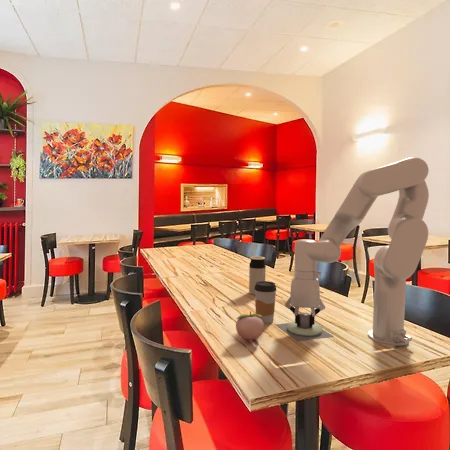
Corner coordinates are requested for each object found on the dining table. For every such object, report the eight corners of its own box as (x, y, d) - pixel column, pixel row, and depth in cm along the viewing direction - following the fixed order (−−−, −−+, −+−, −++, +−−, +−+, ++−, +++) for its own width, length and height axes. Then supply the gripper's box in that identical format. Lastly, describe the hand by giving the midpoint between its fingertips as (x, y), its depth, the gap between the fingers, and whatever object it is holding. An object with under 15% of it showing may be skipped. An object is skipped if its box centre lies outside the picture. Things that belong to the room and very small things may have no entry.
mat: (334, 338, 119) (334, 336, 119) (297, 343, 115) (297, 341, 115) (308, 322, 134) (308, 320, 134) (275, 326, 130) (275, 324, 130)
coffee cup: (280, 322, 134) (280, 283, 133) (267, 327, 128) (267, 287, 127) (262, 317, 140) (263, 279, 139) (249, 322, 134) (249, 283, 133)
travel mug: (257, 296, 170) (257, 259, 168) (245, 292, 176) (246, 257, 174) (268, 293, 175) (269, 257, 174) (256, 290, 181) (257, 255, 180)
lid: (329, 333, 121) (329, 317, 120) (298, 338, 117) (298, 321, 116) (309, 322, 132) (310, 307, 132) (281, 325, 128) (281, 311, 128)
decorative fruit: (243, 348, 110) (243, 317, 109) (232, 339, 117) (232, 309, 117) (269, 344, 114) (269, 314, 113) (257, 335, 121) (257, 306, 120)
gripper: (329, 273, 125) (328, 324, 126) (281, 271, 128) (281, 320, 130) (331, 278, 118) (330, 331, 119) (280, 276, 121) (280, 328, 122)
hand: (304, 325), depth 124 cm, fingers closed on lid, 4 cm apart
